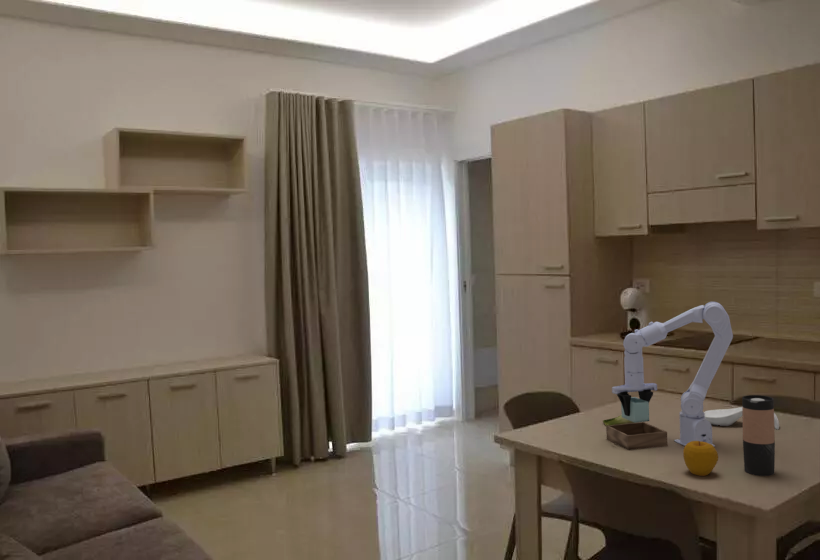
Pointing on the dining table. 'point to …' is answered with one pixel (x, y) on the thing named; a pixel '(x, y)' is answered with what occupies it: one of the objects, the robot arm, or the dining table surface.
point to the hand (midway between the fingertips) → (635, 414)
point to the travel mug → (758, 435)
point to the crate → (636, 435)
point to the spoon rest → (729, 417)
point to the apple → (700, 457)
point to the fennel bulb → (616, 421)
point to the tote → (637, 410)
